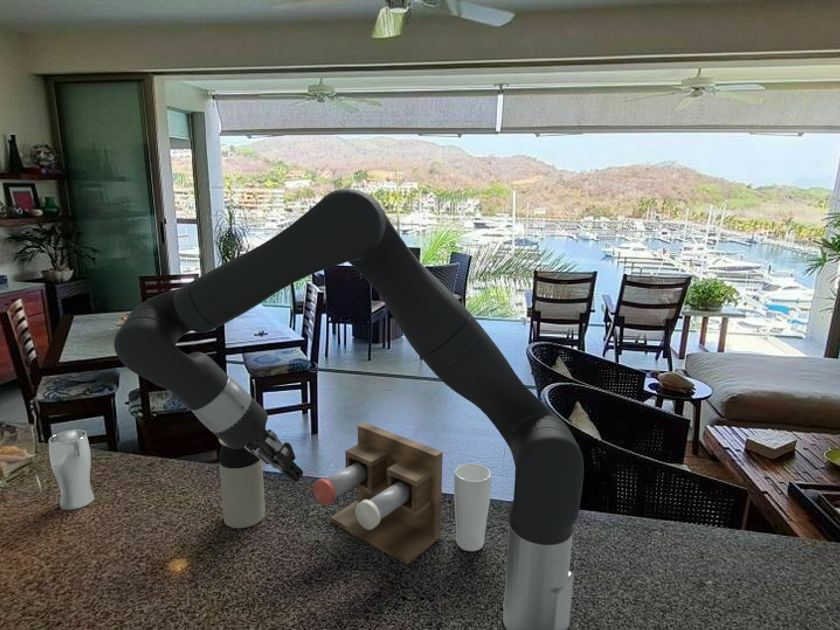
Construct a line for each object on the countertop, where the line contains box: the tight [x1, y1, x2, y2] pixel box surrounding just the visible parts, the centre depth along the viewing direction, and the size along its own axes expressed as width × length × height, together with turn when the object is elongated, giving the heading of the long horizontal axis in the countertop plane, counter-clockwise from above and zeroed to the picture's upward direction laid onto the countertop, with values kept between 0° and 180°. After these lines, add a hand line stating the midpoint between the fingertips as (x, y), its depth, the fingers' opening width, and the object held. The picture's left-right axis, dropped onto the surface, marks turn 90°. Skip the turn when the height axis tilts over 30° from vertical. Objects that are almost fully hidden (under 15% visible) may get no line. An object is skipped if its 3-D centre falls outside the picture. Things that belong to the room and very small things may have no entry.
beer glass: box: [48, 429, 95, 511], centre depth 110 cm, size 7×7×15 cm
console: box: [330, 422, 443, 565], centre depth 102 cm, size 20×10×18 cm, turn 52°
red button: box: [312, 462, 367, 507], centre depth 100 cm, size 5×10×5 cm, turn 142°
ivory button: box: [355, 481, 411, 530], centre depth 94 cm, size 5×10×5 cm, turn 142°
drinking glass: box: [453, 463, 492, 552], centre depth 98 cm, size 7×7×15 cm
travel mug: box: [218, 438, 266, 529], centre depth 105 cm, size 8×8×18 cm
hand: (297, 476), depth 89 cm, fingers closed
